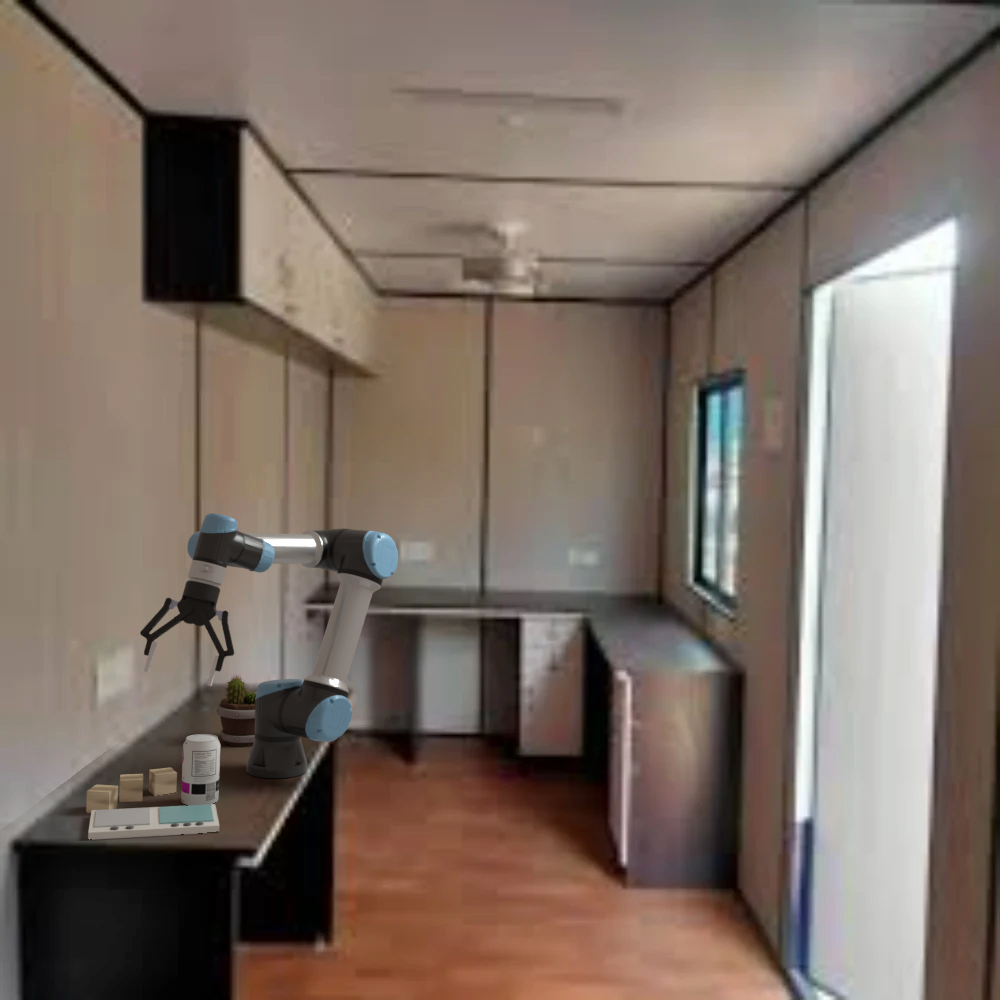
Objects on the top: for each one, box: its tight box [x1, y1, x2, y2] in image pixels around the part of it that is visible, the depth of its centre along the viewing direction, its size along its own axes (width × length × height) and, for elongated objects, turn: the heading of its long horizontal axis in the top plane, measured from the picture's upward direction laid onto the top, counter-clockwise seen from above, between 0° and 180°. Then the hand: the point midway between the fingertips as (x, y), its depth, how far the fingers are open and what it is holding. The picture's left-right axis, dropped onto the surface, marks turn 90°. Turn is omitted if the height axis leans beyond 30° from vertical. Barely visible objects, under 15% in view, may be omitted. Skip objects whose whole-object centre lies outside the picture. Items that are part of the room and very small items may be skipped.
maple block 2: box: [118, 773, 144, 803], centre depth 256 cm, size 5×5×5 cm
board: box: [87, 803, 220, 841], centre depth 239 cm, size 15×26×2 cm, turn 108°
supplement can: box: [180, 733, 221, 806], centre depth 255 cm, size 8×8×15 cm
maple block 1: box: [85, 784, 119, 813], centre depth 247 cm, size 5×5×5 cm
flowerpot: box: [216, 674, 256, 747], centre depth 311 cm, size 14×15×20 cm
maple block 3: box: [148, 767, 178, 797], centre depth 262 cm, size 5×5×5 cm
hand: (177, 678), depth 242 cm, fingers open, 13 cm apart
